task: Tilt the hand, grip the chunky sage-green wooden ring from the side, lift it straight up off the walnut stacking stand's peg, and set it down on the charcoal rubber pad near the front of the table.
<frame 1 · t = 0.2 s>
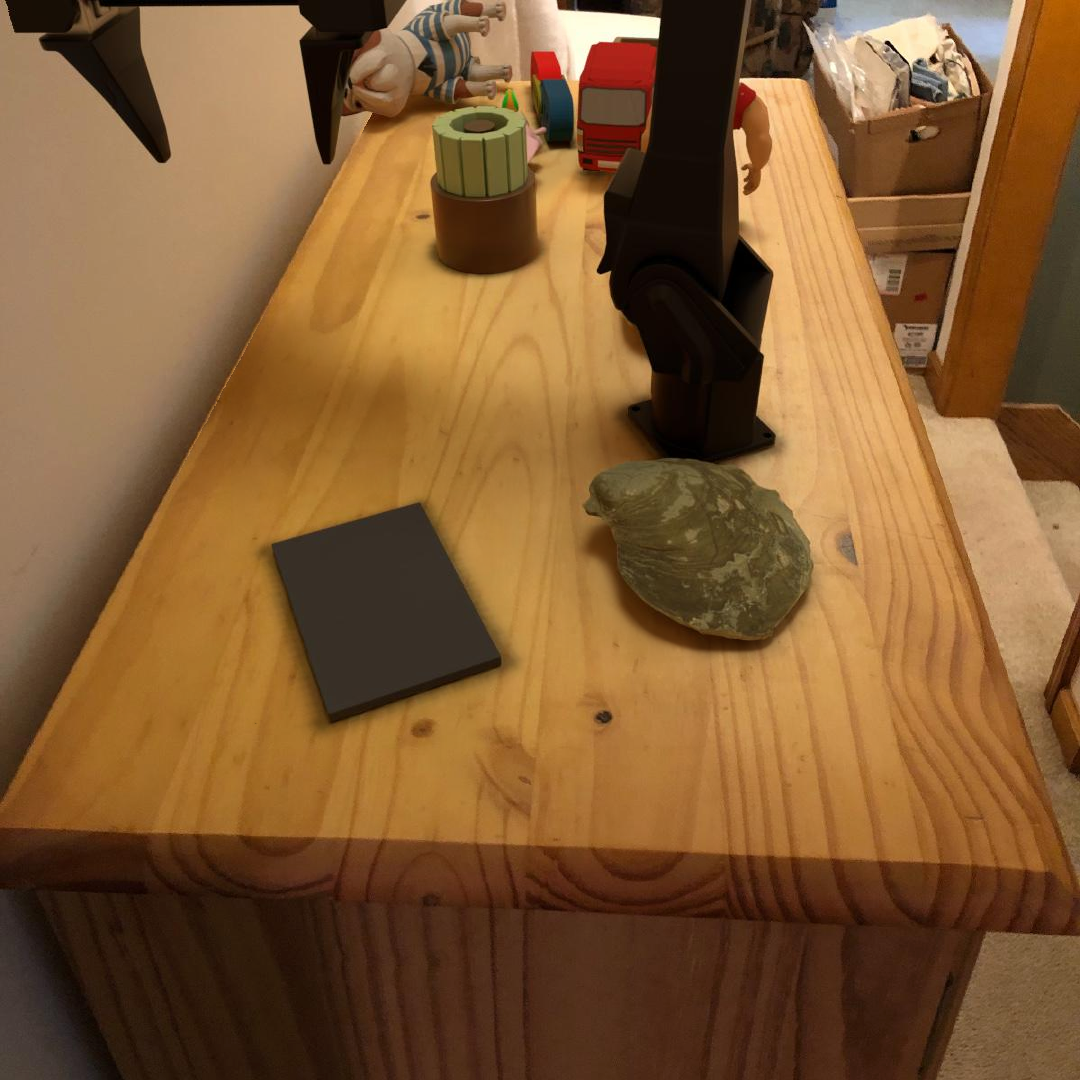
hand: (246, 161, 55), 14 cm above the cabinet, tool pointing down, fingers open, 9 cm apart
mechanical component: (532, 94, 96), point 2 cm above the cabinet
ring: (482, 178, 73), point 5 cm above the cabinet, touching stand
pad: (380, 605, 49), on the cabinet
toy truck: (632, 147, 91), on the cabinet
figurine: (496, 54, 97), point 5 cm above the cabinet
action figure: (699, 231, 79), on the cabinet
stand: (487, 249, 77), on the cabinet
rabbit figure: (513, 165, 89), on the cabinet
decorative stone: (689, 316, 69), on the cabinet
seashell: (692, 570, 51), on the cabinet
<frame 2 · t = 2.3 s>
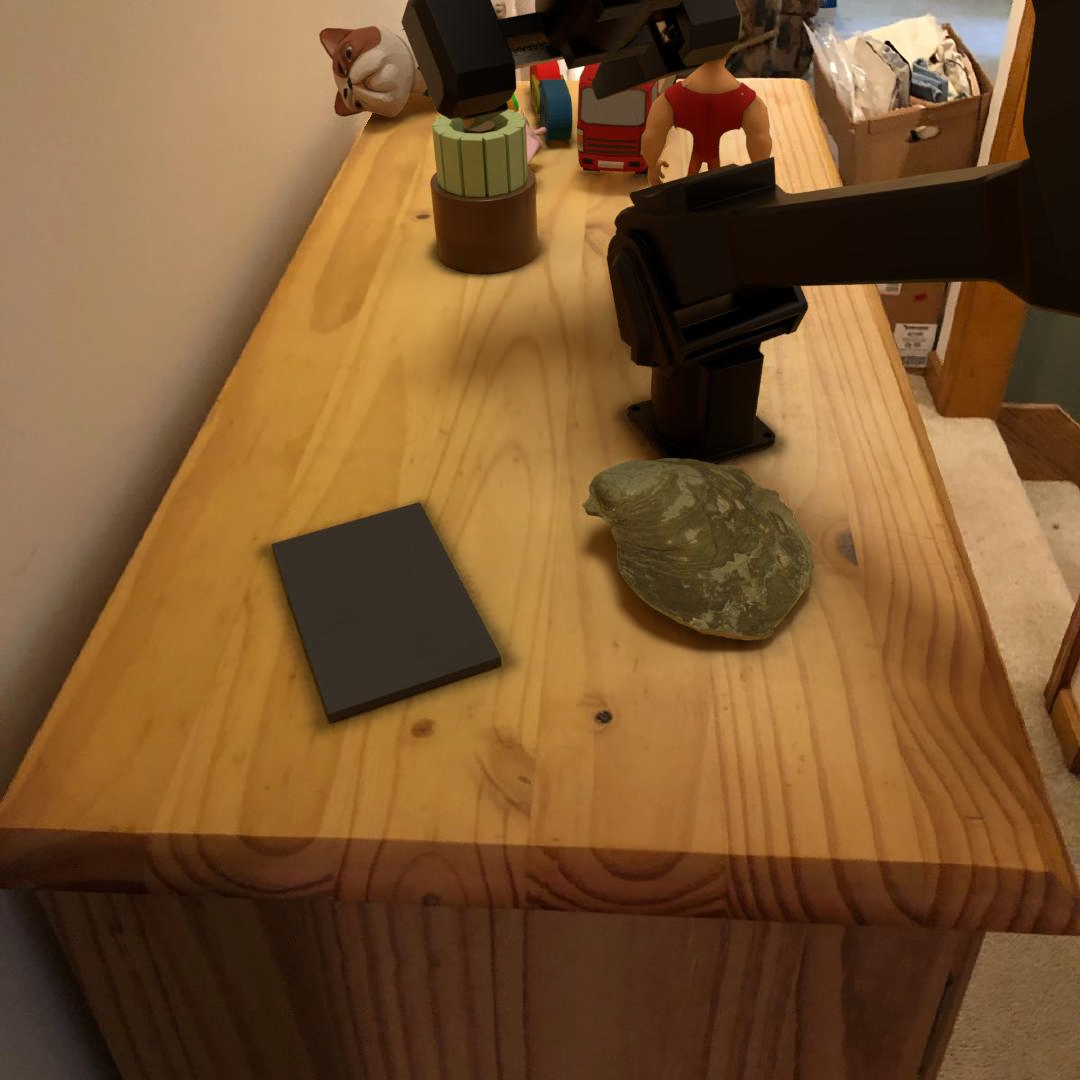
hand: (532, 106, 63), 13 cm above the cabinet, tool tilted 45°, fingers open, 9 cm apart
nothing on the cabinet moved.
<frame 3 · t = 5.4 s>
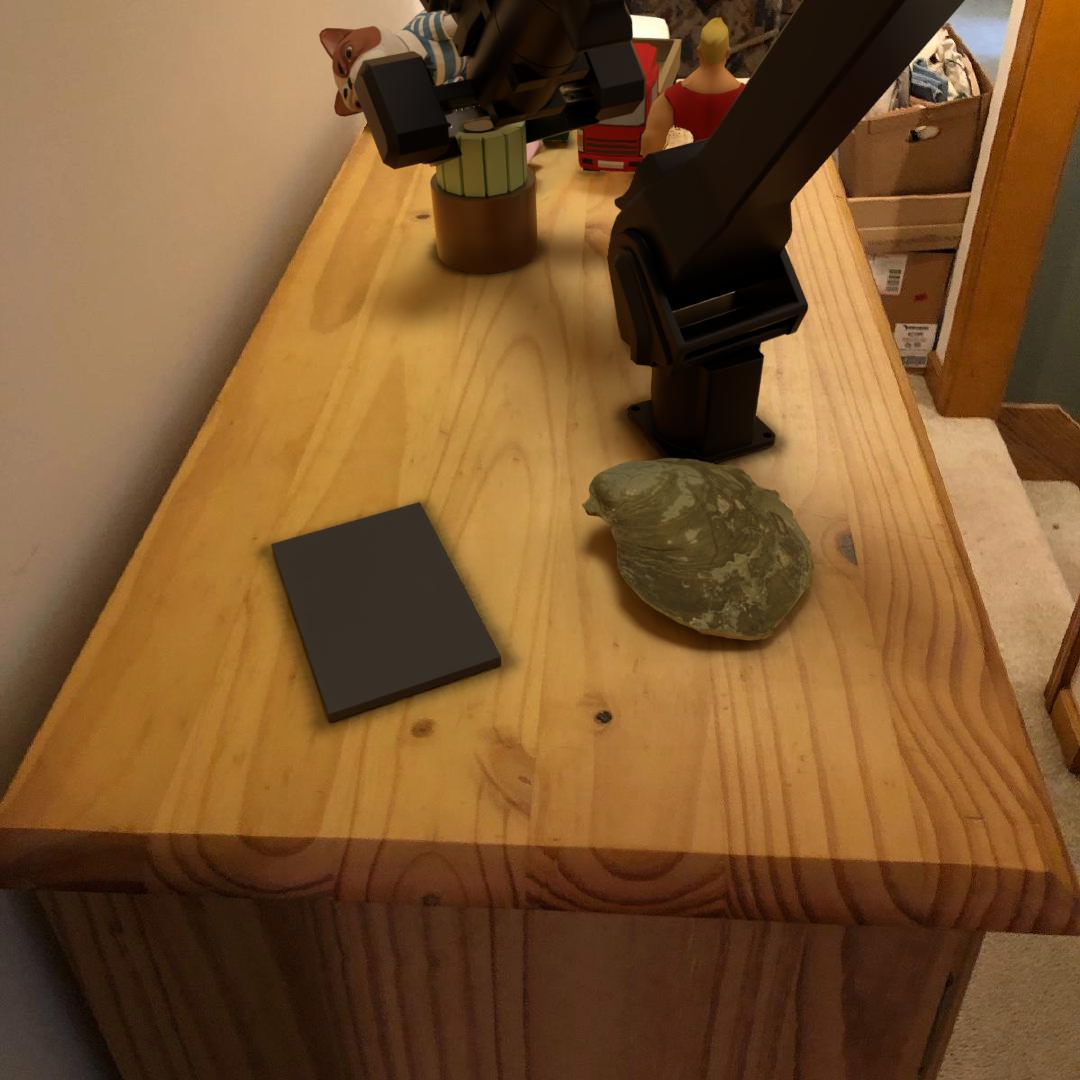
hand: (472, 149, 73), 7 cm above the cabinet, tool tilted 45°, fingers closed on ring, 6 cm apart
ring: (482, 178, 73), point 6 cm above the cabinet, touching gripper, stand
everything else where it was.
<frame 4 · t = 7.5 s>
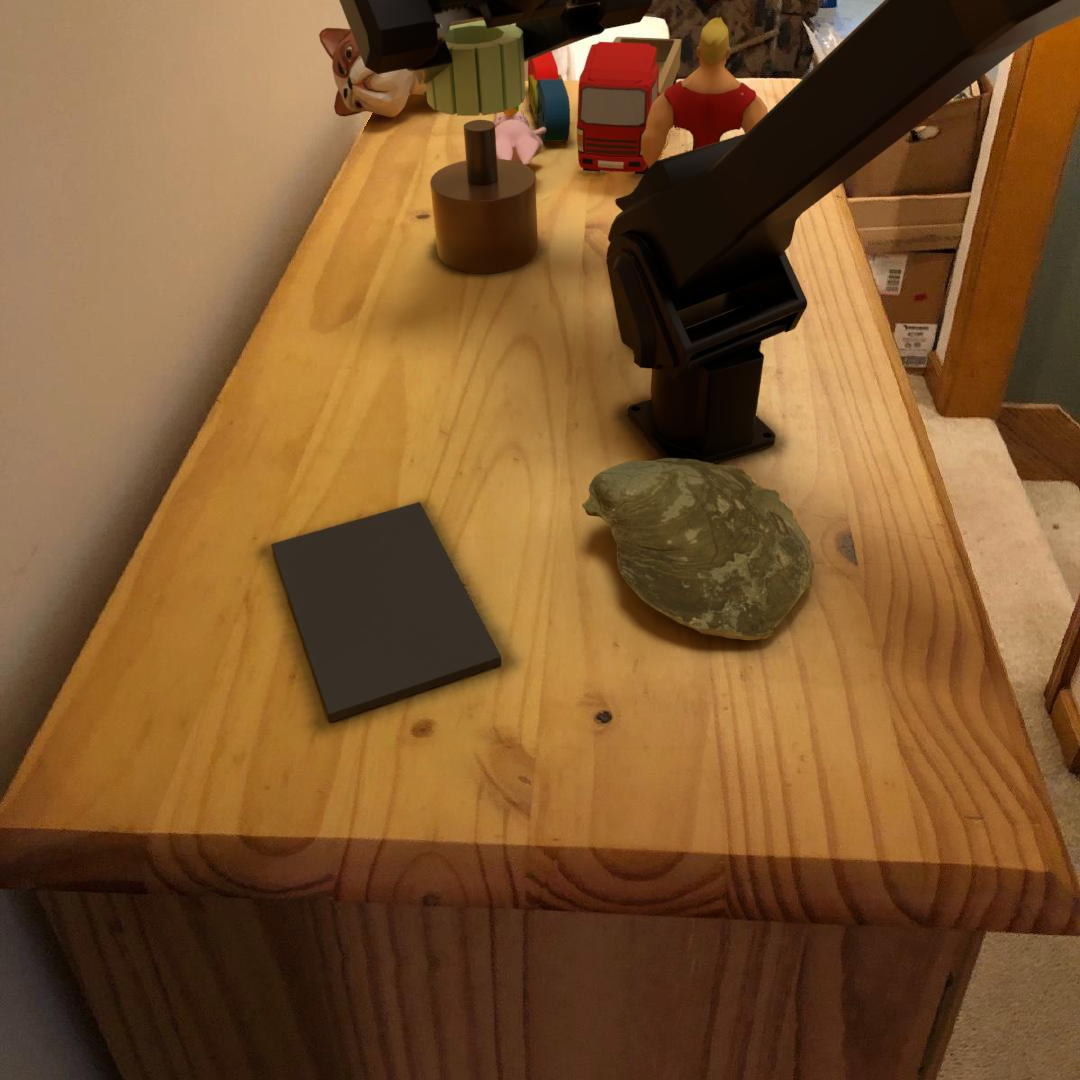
hand: (466, 67, 67), 13 cm above the cabinet, tool tilted 45°, fingers closed on ring, 6 cm apart
ring: (476, 99, 67), point 12 cm above the cabinet, touching gripper
everything else where it was.
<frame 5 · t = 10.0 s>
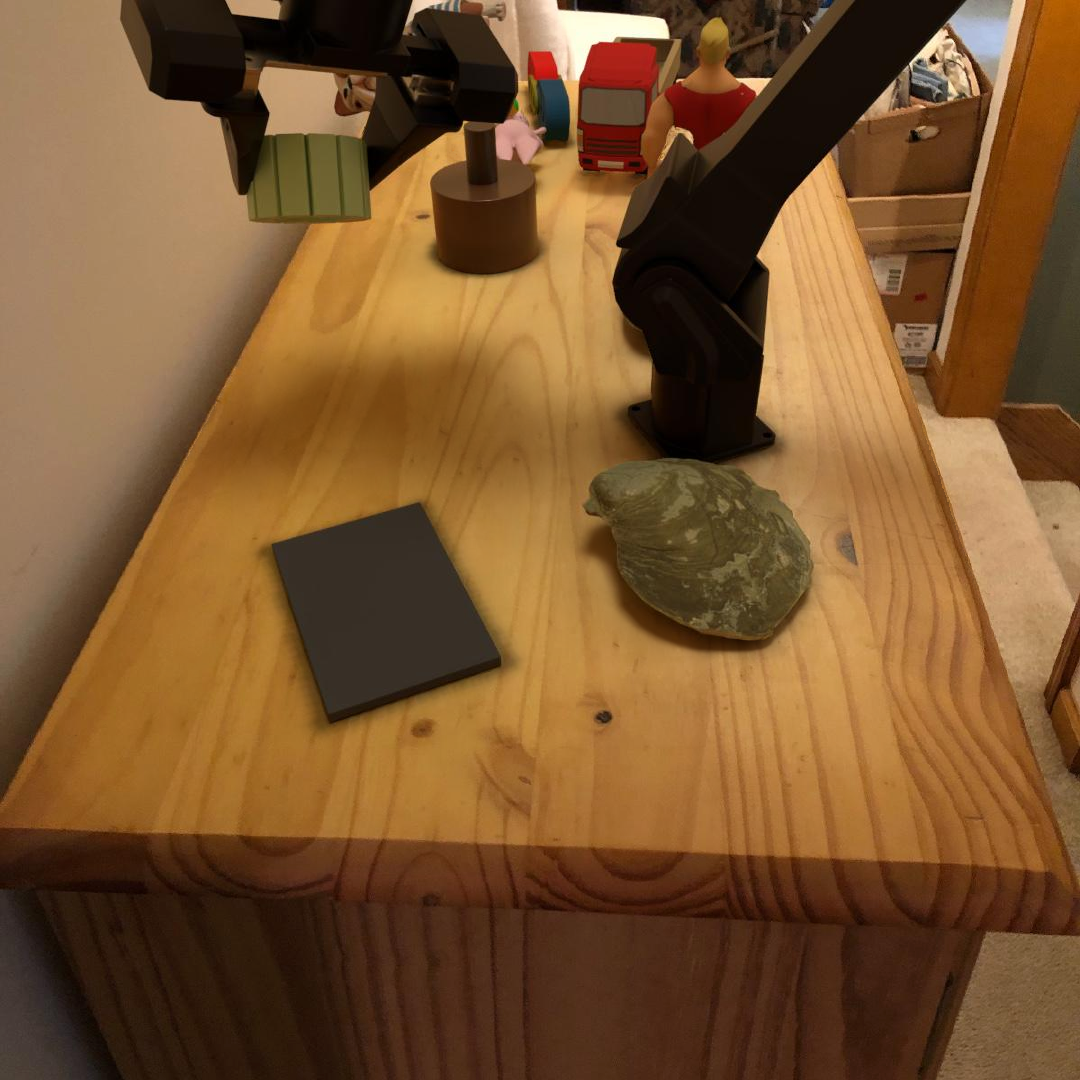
hand: (299, 191, 56), 12 cm above the cabinet, tool tilted 25°, fingers closed on ring, 6 cm apart
ring: (310, 220, 55), point 11 cm above the cabinet, tilted 28°, touching gripper
everything else where it was.
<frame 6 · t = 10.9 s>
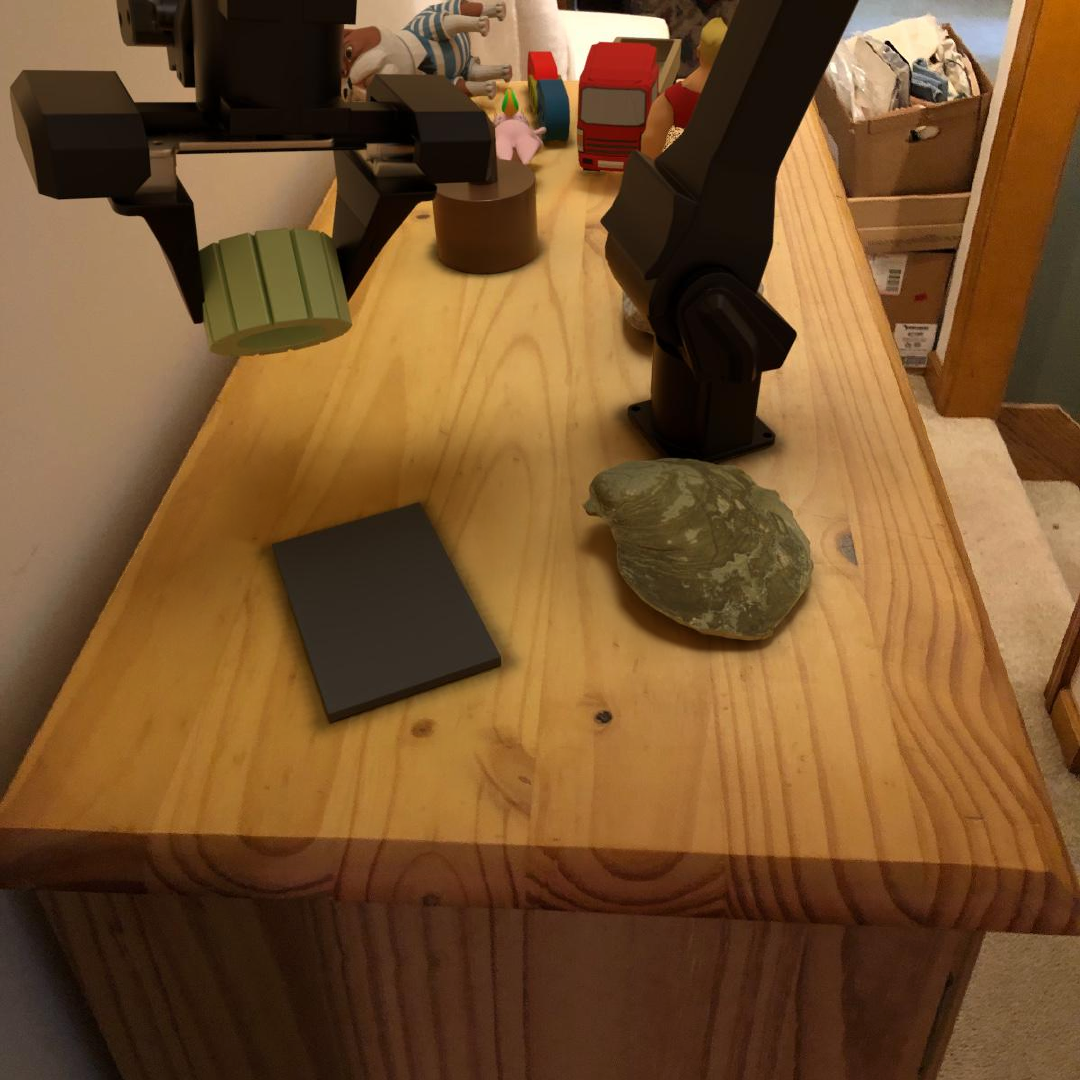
hand: (268, 312, 48), 11 cm above the cabinet, tool pointing down, fingers closed on ring, 6 cm apart
ring: (282, 338, 47), point 11 cm above the cabinet, tilted 42°, touching gripper
everything else where it was.
when the fingers open (3 cm above the cabinet, at t = 14.8 s): ring drops 2 cm, resting on pad.
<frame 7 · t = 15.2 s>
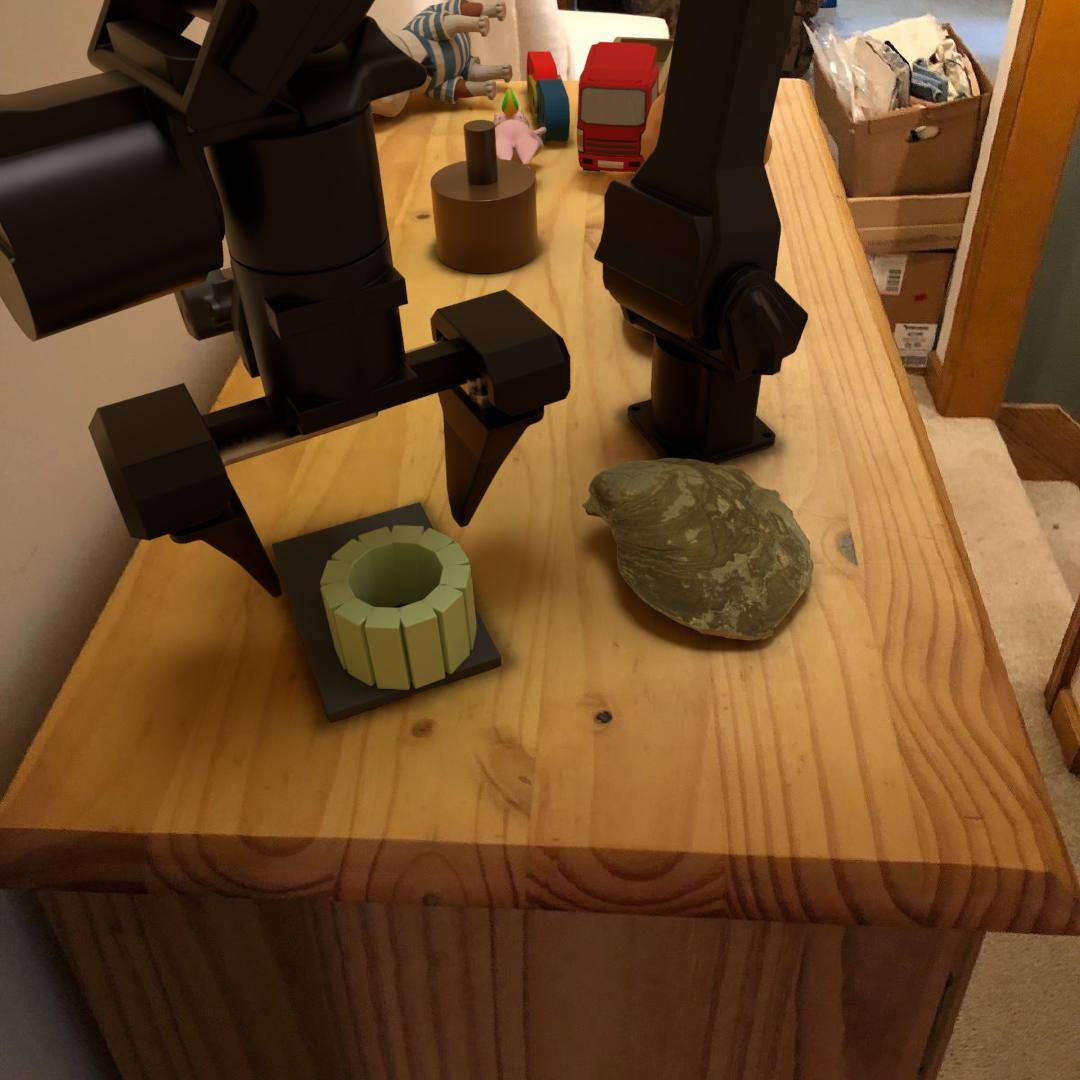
hand: (370, 555, 47), 3 cm above the cabinet, tool pointing down, fingers open, 9 cm apart
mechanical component: (528, 94, 96), point 2 cm above the cabinet, touching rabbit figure
ring: (406, 635, 47), point 1 cm above the cabinet, touching pad
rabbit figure: (513, 165, 89), on the cabinet, touching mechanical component
everything else where it was.
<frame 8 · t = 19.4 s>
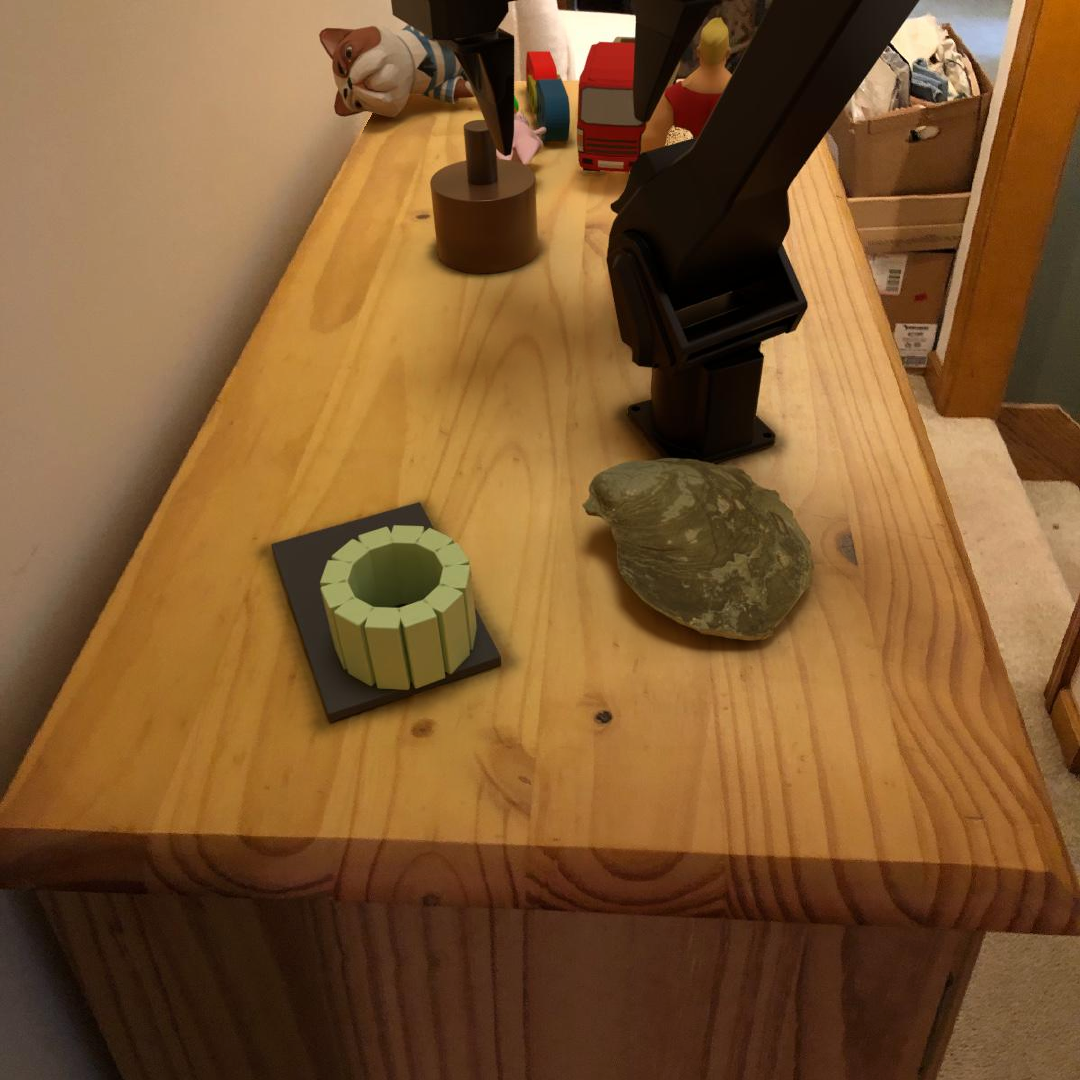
hand: (574, 136, 59), 13 cm above the cabinet, tool pointing down, fingers open, 9 cm apart
nothing on the cabinet moved.
at the end: ring inside the target area on the pad (3.0 cm from its centre), point 0.6 cm above the pad's base; ring 3.1 cm from the pad (horizontally); the gripper is holding nothing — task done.
